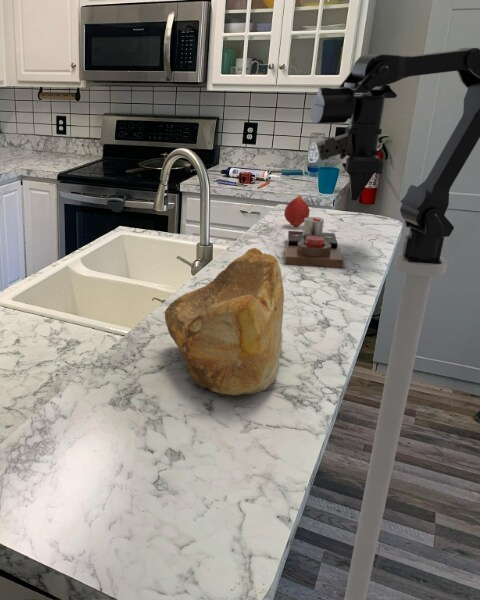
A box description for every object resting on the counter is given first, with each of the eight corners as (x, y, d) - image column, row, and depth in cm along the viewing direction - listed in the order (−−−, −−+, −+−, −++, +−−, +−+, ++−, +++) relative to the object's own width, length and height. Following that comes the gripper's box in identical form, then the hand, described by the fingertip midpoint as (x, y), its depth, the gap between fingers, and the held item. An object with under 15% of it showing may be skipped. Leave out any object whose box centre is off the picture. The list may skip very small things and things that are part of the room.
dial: (299, 234, 137) (301, 216, 136) (314, 233, 138) (317, 214, 137) (309, 239, 134) (311, 220, 132) (325, 238, 135) (327, 219, 133)
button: (322, 244, 129) (323, 236, 128) (323, 249, 126) (324, 240, 125) (304, 242, 130) (305, 235, 129) (305, 247, 127) (306, 239, 126)
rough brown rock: (189, 326, 102) (184, 240, 96) (294, 334, 94) (295, 242, 89) (139, 397, 83) (129, 295, 77) (265, 415, 75) (264, 304, 70)
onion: (287, 230, 150) (291, 198, 147) (279, 224, 155) (283, 193, 152) (311, 229, 150) (315, 197, 147) (302, 223, 155) (306, 192, 152)
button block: (338, 255, 131) (341, 240, 130) (342, 268, 124) (344, 251, 123) (285, 252, 134) (286, 237, 133) (285, 264, 127) (286, 248, 126)
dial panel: (333, 243, 139) (334, 232, 138) (336, 254, 132) (337, 242, 131) (287, 240, 142) (288, 229, 141) (287, 251, 135) (288, 239, 134)
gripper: (319, 117, 131) (311, 189, 137) (324, 127, 115) (314, 208, 121) (376, 117, 128) (364, 191, 134) (389, 128, 112) (376, 211, 118)
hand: (353, 200), depth 127 cm, fingers closed
